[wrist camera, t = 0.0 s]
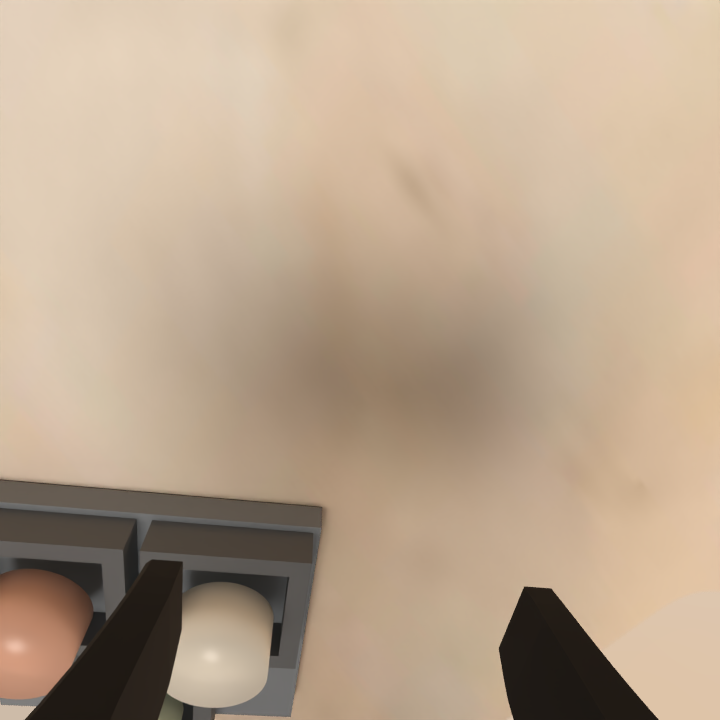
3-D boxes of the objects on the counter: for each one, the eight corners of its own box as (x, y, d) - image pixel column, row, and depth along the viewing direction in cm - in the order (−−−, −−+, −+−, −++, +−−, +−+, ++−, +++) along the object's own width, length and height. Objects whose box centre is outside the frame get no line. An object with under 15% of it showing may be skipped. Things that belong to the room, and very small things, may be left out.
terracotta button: (96, 642, 22) (72, 701, 20) (-8, 636, 22) (-45, 696, 20) (90, 572, 21) (62, 629, 18) (-24, 564, 20) (-66, 622, 18)
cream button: (269, 651, 23) (263, 710, 21) (172, 646, 23) (155, 705, 21) (277, 585, 21) (271, 641, 19) (172, 578, 21) (154, 635, 19)
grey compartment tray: (292, 693, 29) (288, 750, 27) (13, 680, 28) (-18, 740, 25) (321, 507, 23) (320, 558, 21) (-29, 477, 22) (-75, 529, 19)
